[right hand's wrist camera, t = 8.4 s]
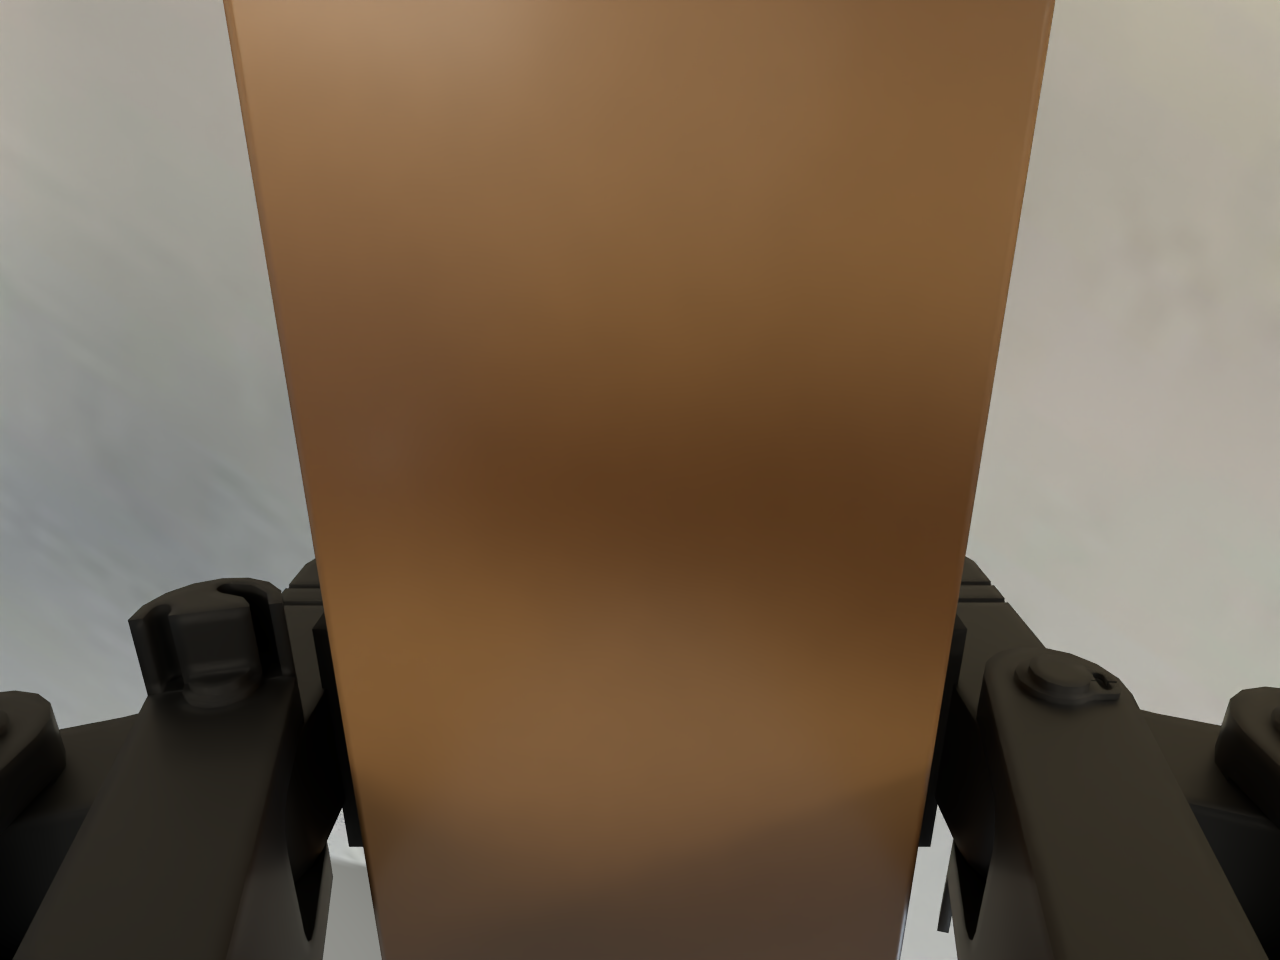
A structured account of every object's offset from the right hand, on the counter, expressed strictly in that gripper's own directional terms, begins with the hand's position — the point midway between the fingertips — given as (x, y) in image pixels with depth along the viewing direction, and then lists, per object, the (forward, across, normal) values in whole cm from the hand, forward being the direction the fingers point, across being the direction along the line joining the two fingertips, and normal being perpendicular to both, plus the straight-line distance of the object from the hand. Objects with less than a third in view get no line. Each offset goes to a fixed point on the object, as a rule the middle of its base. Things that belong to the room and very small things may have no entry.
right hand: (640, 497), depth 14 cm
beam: (+1, 0, -20) cm, 20 cm away
